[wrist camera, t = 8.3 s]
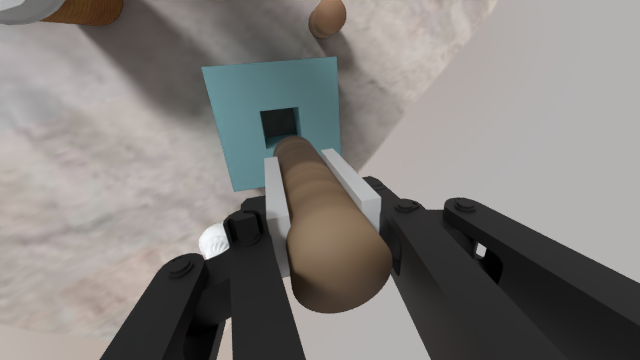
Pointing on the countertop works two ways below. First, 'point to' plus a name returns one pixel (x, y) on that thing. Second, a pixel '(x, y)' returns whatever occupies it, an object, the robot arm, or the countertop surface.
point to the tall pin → (327, 235)
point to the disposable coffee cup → (60, 11)
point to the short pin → (327, 18)
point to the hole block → (269, 94)
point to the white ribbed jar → (213, 241)
